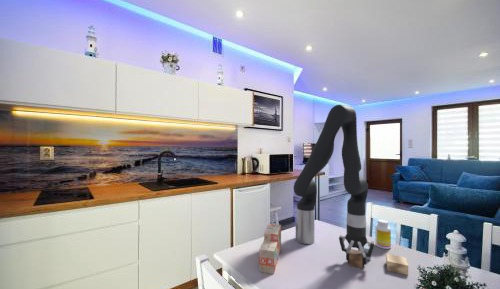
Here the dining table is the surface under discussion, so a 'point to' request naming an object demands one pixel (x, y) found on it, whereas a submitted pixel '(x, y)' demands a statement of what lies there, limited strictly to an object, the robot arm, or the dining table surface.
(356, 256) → the walnut cube
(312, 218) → the robot arm
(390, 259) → the oak base
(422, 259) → the dining table surface
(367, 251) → the slate cube
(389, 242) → the supplement bottle
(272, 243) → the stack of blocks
